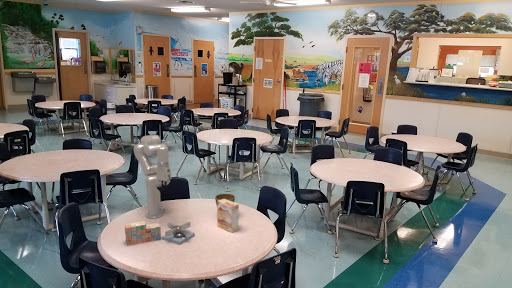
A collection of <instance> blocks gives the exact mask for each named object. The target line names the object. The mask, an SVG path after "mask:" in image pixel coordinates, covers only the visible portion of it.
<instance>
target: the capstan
mask: <svg viewBox="0 0 512 288" xmlns="http://www.w3.org/2000/svg"><path fill="white" fill-rule="evenodd" d="M166 225H167V228H168V229H169V230H166V231H165V232H164V235H165V236H166V237H168V236H171V235H173V234H174V236H175V237H184V236H185V235H186V236H189V235H190V232H191V231H190V230H189V228H191V222H190V221H188V222H185V223H182V224H180V225H176V224H175V223H172V222H168V223H167V224H166Z"/></svg>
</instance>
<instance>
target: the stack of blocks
mask: <svg viewBox="0 0 512 288" xmlns="http://www.w3.org/2000/svg"><path fill="white" fill-rule="evenodd" d="M161 231H162V230H161V225H160V224H159V222H156V223H151V224H146V222H145V220H143V221H137V222H131V223H125V224H124V233H125V243H126V246H134V245H137V244H143V243H148V242H154V241H159V240H162V233H161Z"/></svg>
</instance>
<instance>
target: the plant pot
mask: <svg viewBox="0 0 512 288" xmlns="http://www.w3.org/2000/svg"><path fill="white" fill-rule="evenodd" d="M214 198H215V204H216V206H217V201H218V200H222V199H227V200H229V201H232V202H234V203H235V200H236V196H235V195H234V194H232V193H220V194H216V195H215V197H214Z"/></svg>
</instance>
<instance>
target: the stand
mask: <svg viewBox="0 0 512 288" xmlns="http://www.w3.org/2000/svg"><path fill="white" fill-rule="evenodd" d="M195 234H196V233H195V232H192V231H190V235H189V236H186V235H185V236H184V237H175V236H174V234H173V235H171V236H168V237H166V236H165V234H164V235H161V240H164V241H167V242H169V243H173V244H176V245H179V246H180V245H182V244H184V243H186V242H187V241H189V240H190V239H192V238H194V237H195V236H196V235H195Z"/></svg>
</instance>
